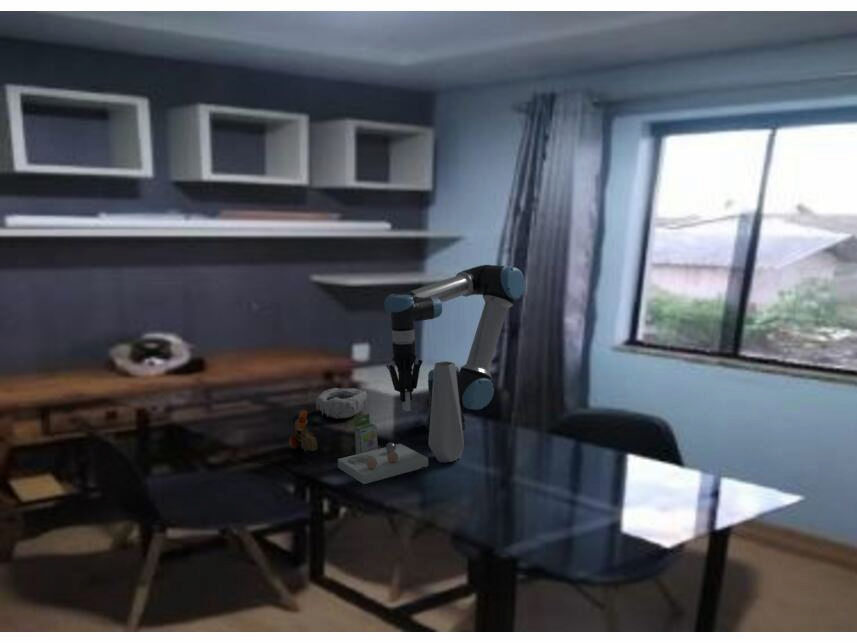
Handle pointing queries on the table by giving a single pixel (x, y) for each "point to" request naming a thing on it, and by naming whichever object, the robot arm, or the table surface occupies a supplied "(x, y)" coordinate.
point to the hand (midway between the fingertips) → (406, 410)
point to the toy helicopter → (303, 434)
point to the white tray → (382, 464)
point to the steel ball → (390, 447)
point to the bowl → (341, 402)
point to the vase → (445, 414)
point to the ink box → (365, 435)
